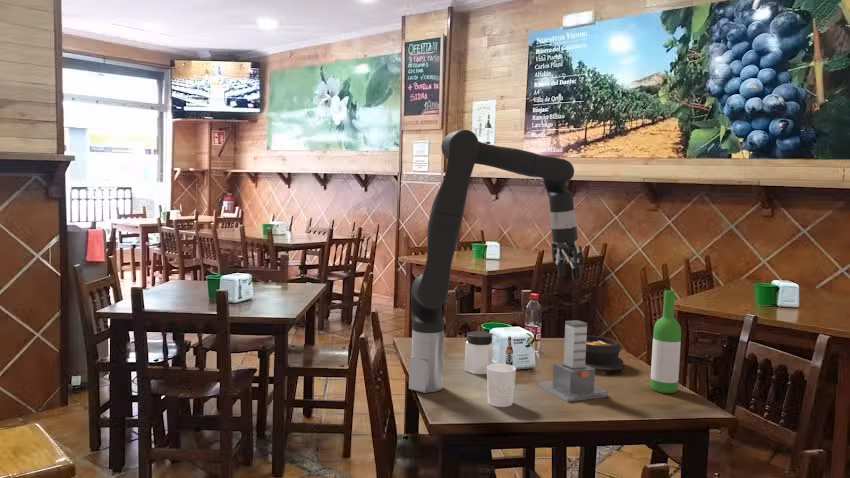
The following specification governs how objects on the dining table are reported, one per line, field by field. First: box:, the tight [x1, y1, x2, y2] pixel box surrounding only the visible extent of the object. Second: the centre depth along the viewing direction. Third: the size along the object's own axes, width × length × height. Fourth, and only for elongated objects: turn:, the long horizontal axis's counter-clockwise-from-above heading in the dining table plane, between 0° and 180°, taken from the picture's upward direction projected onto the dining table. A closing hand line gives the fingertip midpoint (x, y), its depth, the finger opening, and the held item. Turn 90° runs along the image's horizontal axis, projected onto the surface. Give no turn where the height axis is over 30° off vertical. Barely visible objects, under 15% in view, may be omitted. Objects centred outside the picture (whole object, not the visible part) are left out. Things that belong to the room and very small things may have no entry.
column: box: [562, 319, 588, 370], centre depth 184 cm, size 5×5×19 cm
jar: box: [464, 330, 494, 375], centre depth 203 cm, size 9×8×12 cm
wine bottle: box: [649, 289, 682, 394], centre depth 188 cm, size 8×8×30 cm
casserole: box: [585, 335, 624, 371], centre depth 214 cm, size 25×19×8 cm
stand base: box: [538, 362, 609, 403], centre depth 185 cm, size 14×14×8 cm
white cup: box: [486, 363, 517, 408], centre depth 173 cm, size 8×8×10 cm
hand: (569, 278), depth 193 cm, fingers open, 8 cm apart
